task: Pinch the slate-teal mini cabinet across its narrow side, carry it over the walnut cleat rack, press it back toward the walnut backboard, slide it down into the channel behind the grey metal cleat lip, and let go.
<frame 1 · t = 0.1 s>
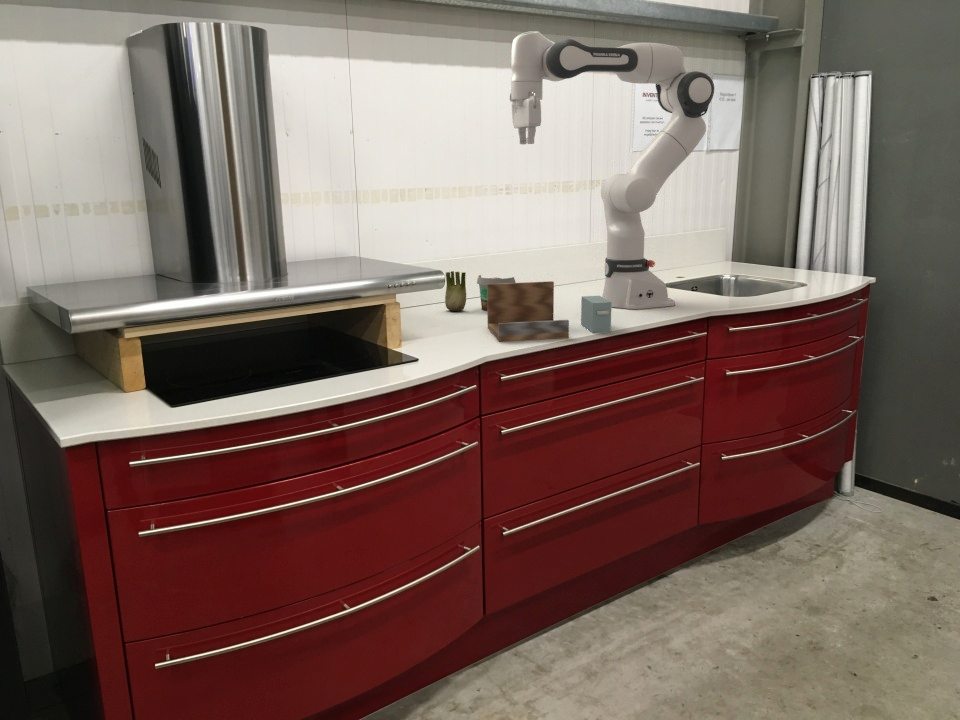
hand: (526, 144, 227), 48 cm above the worktop, fingers open, 8 cm apart
fennel bulb: (455, 311, 237), on the worktop
mini cabinet: (595, 328, 211), on the worktop
cleat rack: (526, 332, 207), on the worktop
food container: (492, 311, 237), on the worktop
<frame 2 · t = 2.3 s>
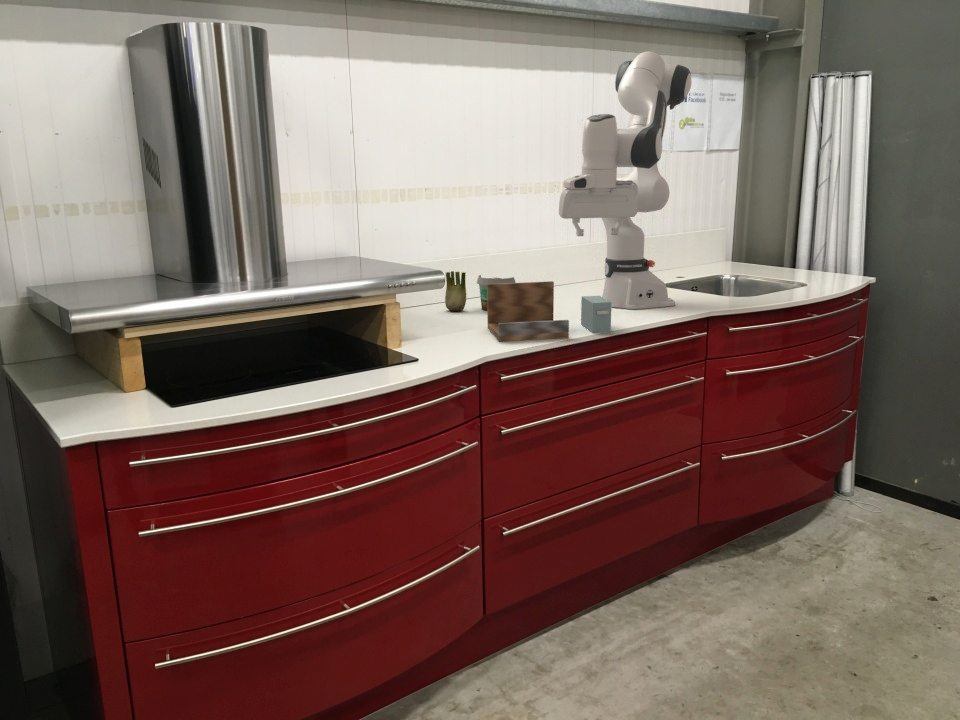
hand: (597, 235, 205), 25 cm above the worktop, fingers open, 8 cm apart
nothing on the worktop moved.
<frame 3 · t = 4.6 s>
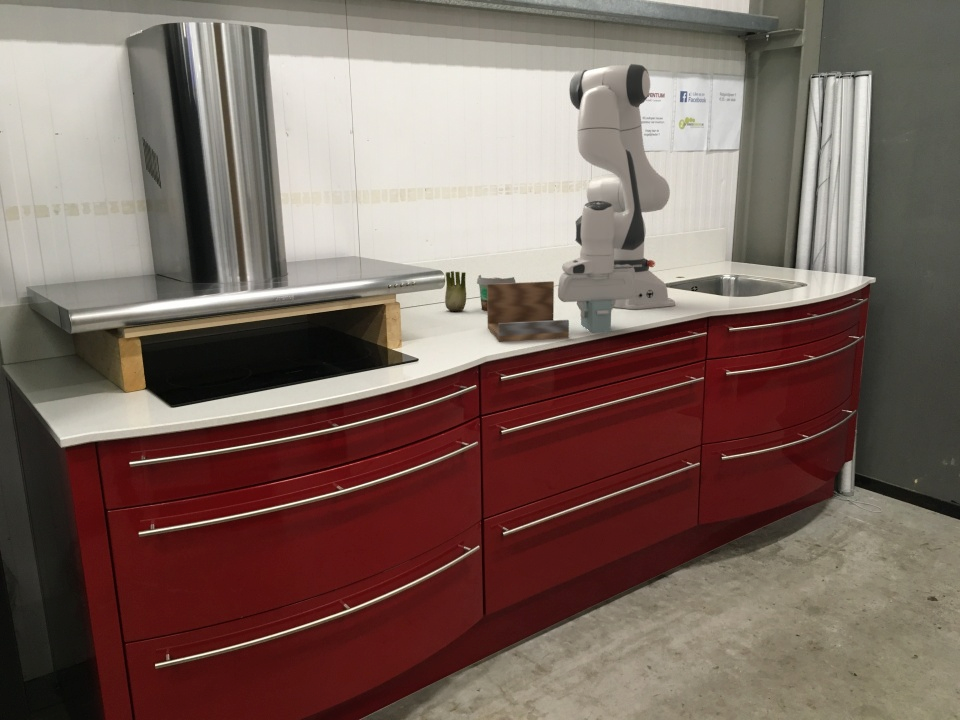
hand: (595, 316, 210), 3 cm above the worktop, fingers closed on mini cabinet, 5 cm apart
mini cabinet: (595, 328, 211), on the worktop, touching gripper
everything else where it was.
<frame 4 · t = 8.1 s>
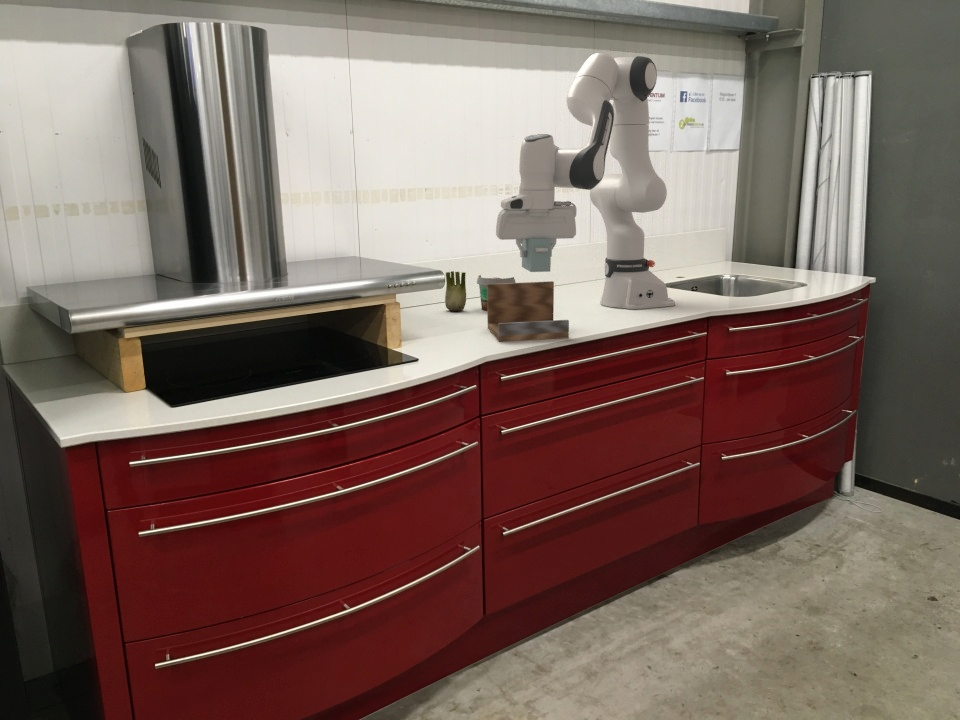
hand: (535, 256, 201), 20 cm above the worktop, fingers closed on mini cabinet, 5 cm apart
mini cabinet: (535, 269, 202), point 17 cm above the worktop, touching gripper
everything else where it was.
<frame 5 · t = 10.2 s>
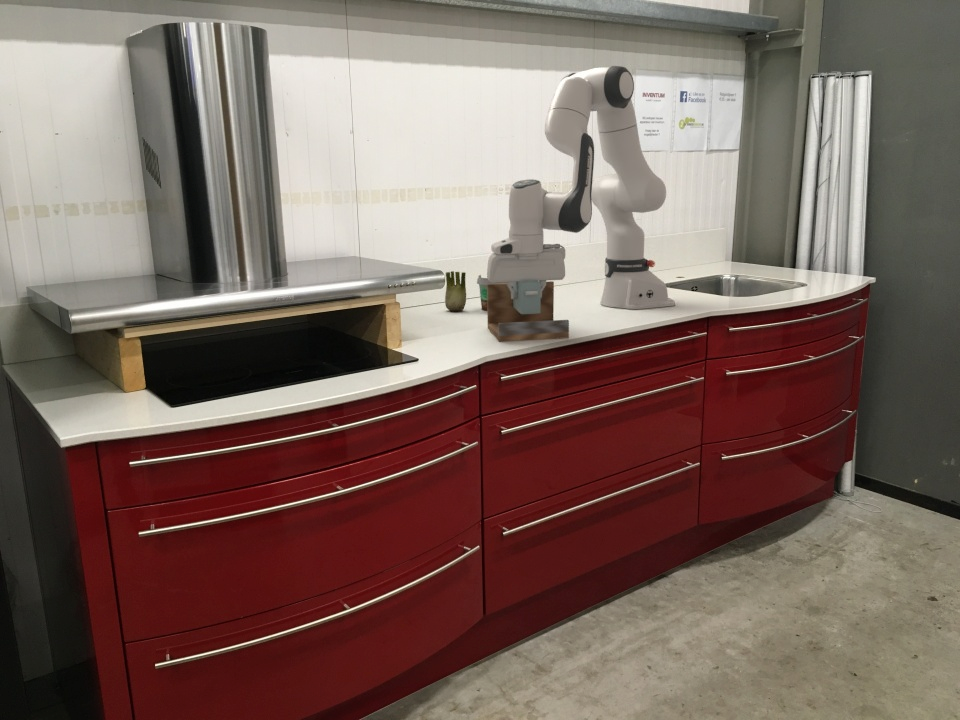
hand: (526, 298, 206), 9 cm above the worktop, fingers closed on mini cabinet, 5 cm apart
mini cabinet: (526, 310, 207), point 6 cm above the worktop, touching gripper
everything else where it was.
when the fingers open (6 cm above the worktop, at t = 11.7 s): mini cabinet drops 1 cm, resting on cleat rack.
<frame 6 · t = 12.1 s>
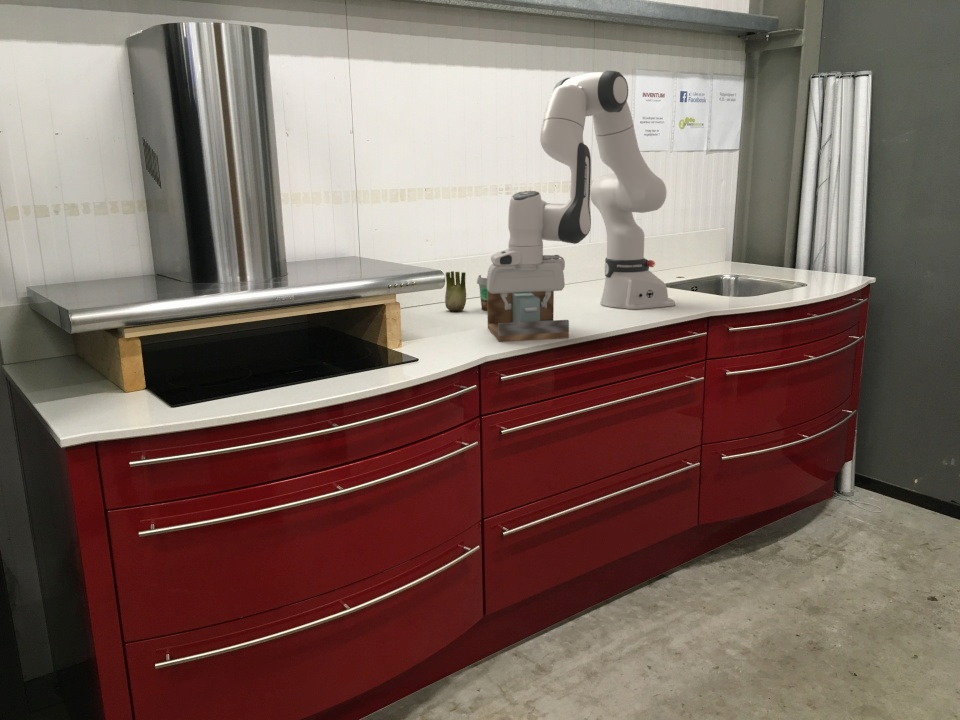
hand: (525, 308, 207), 6 cm above the worktop, fingers open, 8 cm apart
mini cabinet: (525, 326, 208), point 1 cm above the worktop, touching cleat rack
everything else where it was.
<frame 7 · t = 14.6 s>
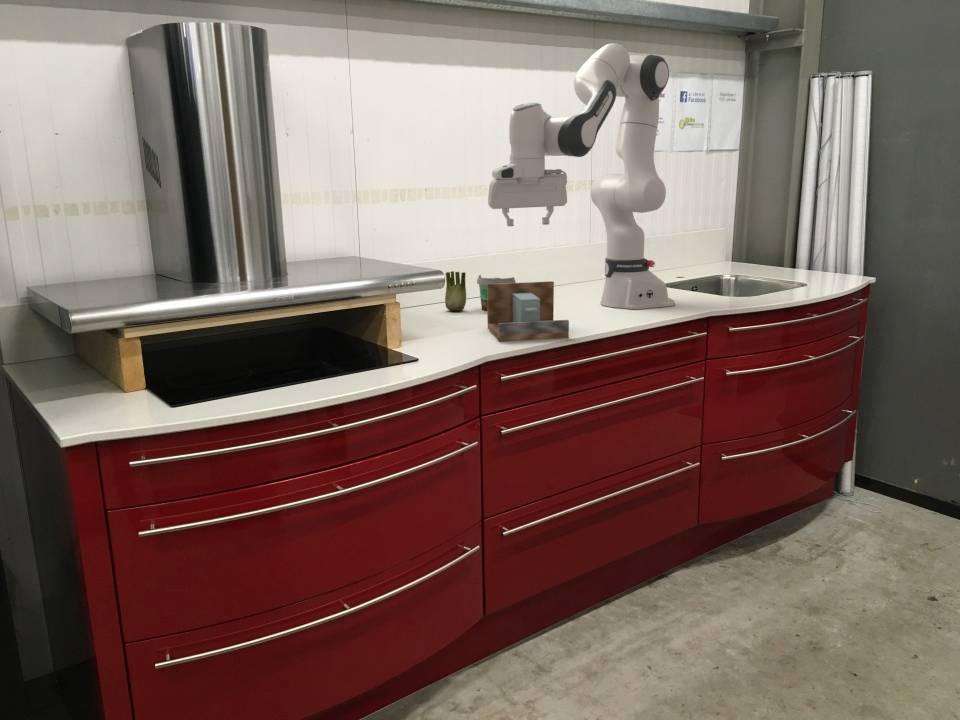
hand: (528, 225, 204), 27 cm above the worktop, fingers open, 8 cm apart
nothing on the worktop moved.
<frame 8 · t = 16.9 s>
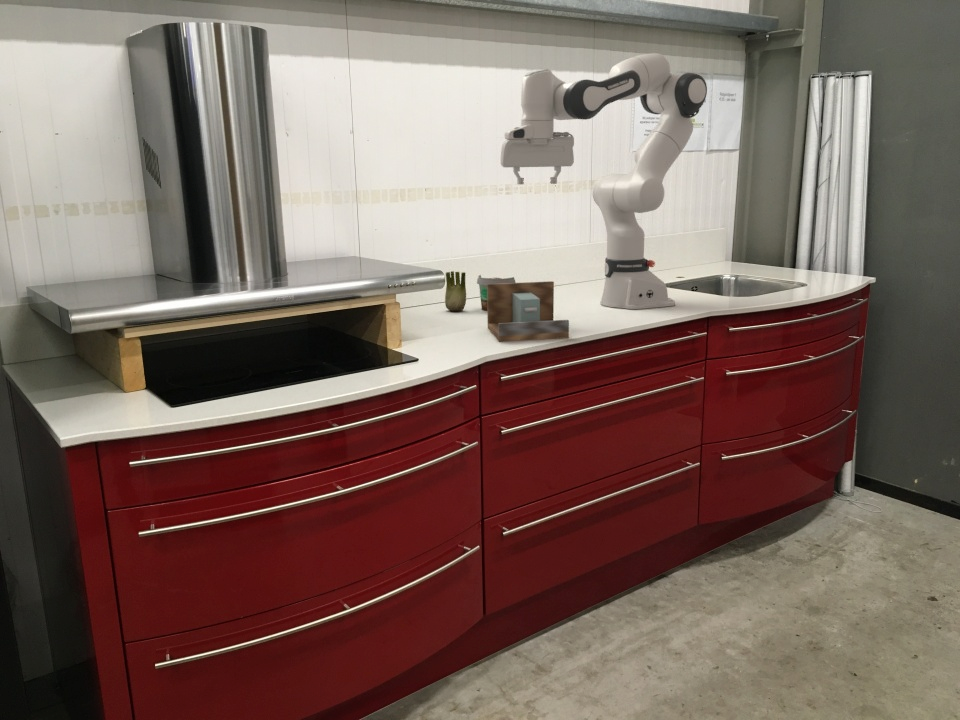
hand: (537, 184, 220), 37 cm above the worktop, fingers open, 8 cm apart
nothing on the worktop moved.
at the end: mini cabinet inside the target area on the cleat rack (1.3 cm from its centre), point 1.5 cm above the cleat rack's base; mini cabinet tilted 0°; the gripper is holding nothing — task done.
